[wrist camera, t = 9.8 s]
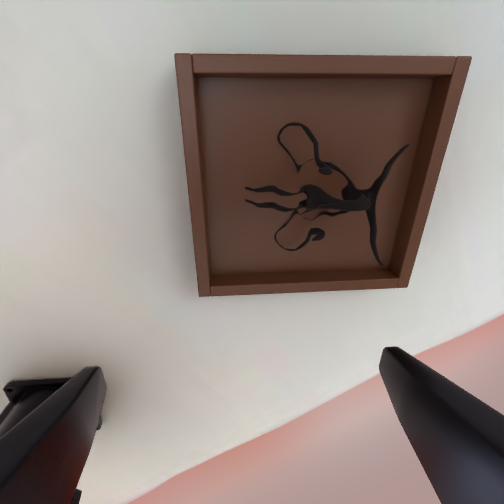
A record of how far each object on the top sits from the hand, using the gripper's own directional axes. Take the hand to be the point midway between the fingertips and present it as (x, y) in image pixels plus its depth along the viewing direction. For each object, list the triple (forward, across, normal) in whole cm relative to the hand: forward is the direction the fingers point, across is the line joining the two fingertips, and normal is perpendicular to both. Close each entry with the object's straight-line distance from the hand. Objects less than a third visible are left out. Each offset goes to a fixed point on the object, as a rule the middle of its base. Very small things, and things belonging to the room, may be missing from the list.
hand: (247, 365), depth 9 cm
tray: (+12, -5, -3) cm, 13 cm away
